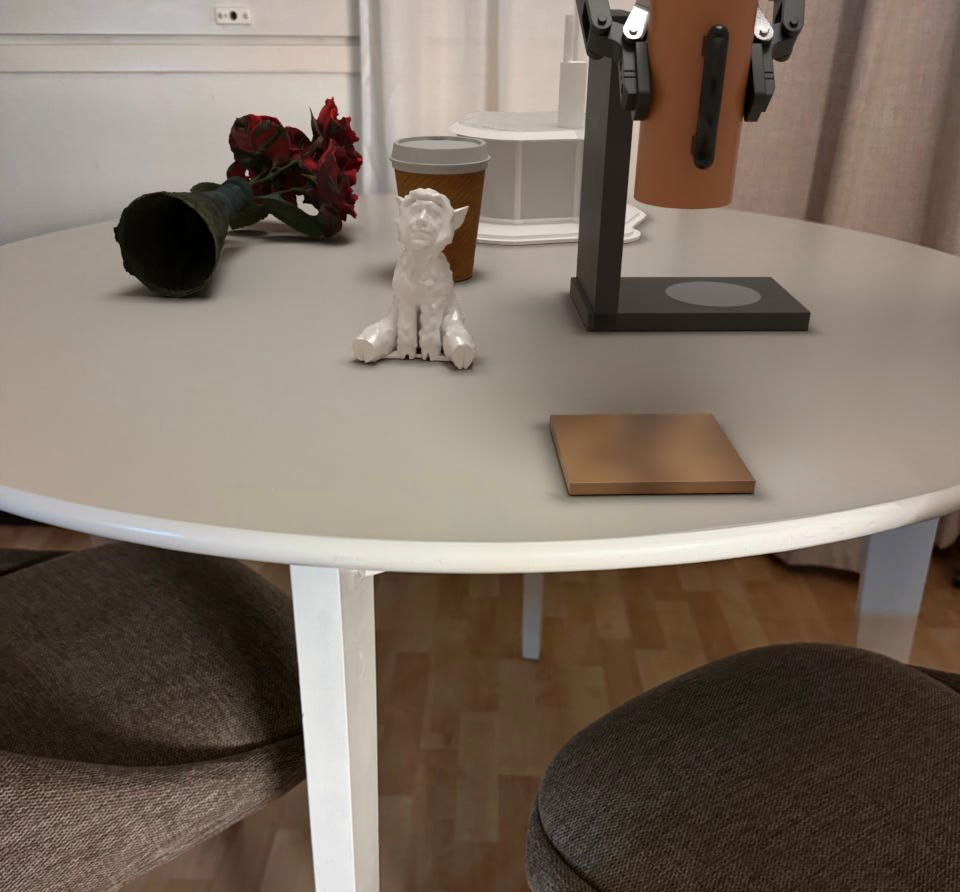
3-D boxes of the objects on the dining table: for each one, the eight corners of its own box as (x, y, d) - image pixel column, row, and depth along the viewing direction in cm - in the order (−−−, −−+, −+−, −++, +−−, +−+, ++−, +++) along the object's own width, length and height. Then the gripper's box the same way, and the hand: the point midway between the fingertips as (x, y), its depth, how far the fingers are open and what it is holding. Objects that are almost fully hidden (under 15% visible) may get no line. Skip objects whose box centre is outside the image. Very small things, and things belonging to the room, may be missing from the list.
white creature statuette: (350, 363, 82) (341, 197, 75) (375, 331, 89) (369, 177, 82) (472, 370, 81) (473, 202, 74) (487, 337, 88) (489, 181, 81)
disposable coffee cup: (503, 269, 107) (507, 139, 101) (463, 291, 100) (463, 152, 93) (420, 259, 110) (418, 132, 104) (374, 279, 103) (369, 144, 97)
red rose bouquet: (201, 378, 101) (297, 267, 129) (334, 255, 93) (407, 165, 121) (70, 246, 95) (201, 160, 123) (200, 101, 87) (309, 44, 115)
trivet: (710, 424, 72) (712, 413, 72) (754, 493, 63) (756, 480, 62) (549, 425, 71) (549, 414, 71) (569, 495, 62) (569, 482, 62)
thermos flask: (719, 190, 68) (746, -31, 62) (750, 216, 62) (785, -28, 55) (626, 190, 68) (644, -32, 61) (648, 216, 61) (671, -30, 55)
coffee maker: (768, 292, 101) (811, 11, 88) (808, 330, 90) (864, 18, 78) (569, 292, 100) (585, 8, 88) (587, 331, 90) (608, 15, 77)
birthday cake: (365, 215, 129) (356, 9, 117) (533, 188, 145) (539, 5, 133) (540, 261, 110) (550, 22, 98) (710, 225, 126) (735, 15, 115)
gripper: (571, -191, 61) (583, 63, 57) (818, -186, 61) (845, 65, 58) (556, -77, 68) (567, 154, 65) (777, -74, 69) (800, 155, 65)
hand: (698, 111), depth 61 cm, fingers closed on thermos flask, 6 cm apart
